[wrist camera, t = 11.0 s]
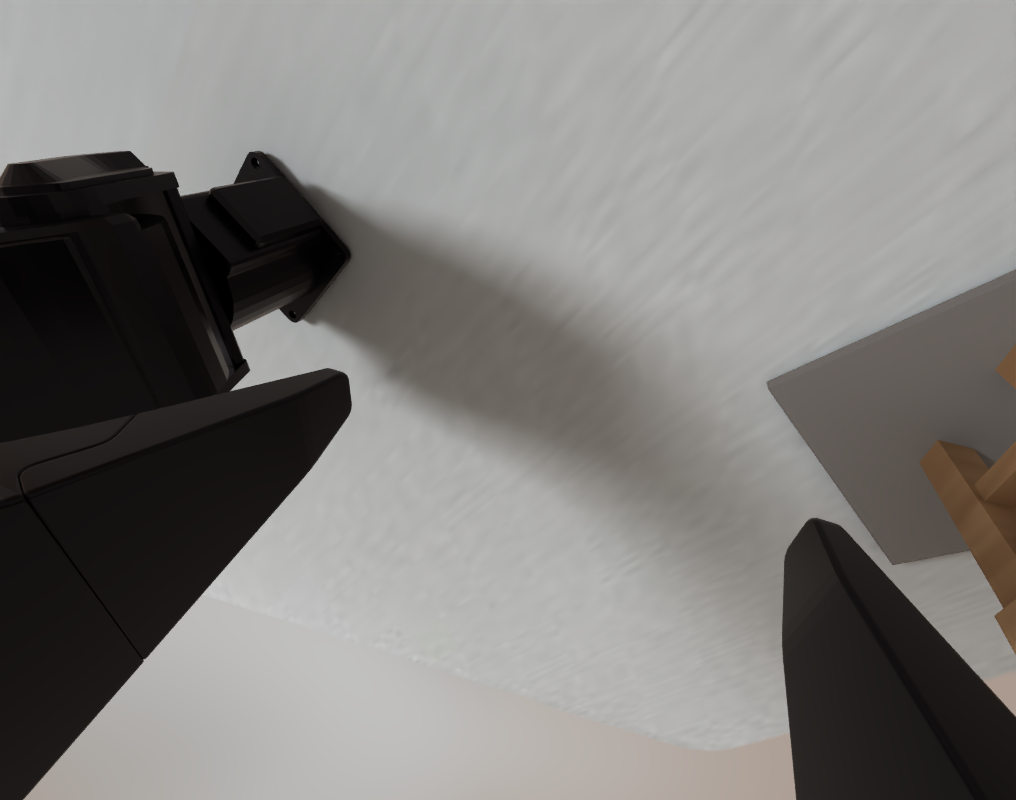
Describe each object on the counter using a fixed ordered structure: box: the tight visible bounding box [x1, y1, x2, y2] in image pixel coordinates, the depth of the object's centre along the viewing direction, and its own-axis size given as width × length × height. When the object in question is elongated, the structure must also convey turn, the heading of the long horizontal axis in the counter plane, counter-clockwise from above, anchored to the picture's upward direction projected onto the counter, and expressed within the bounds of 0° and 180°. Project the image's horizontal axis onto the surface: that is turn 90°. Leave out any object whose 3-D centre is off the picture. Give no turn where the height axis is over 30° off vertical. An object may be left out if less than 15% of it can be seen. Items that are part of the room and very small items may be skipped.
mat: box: [767, 270, 1016, 565], centre depth 17 cm, size 11×11×1 cm
